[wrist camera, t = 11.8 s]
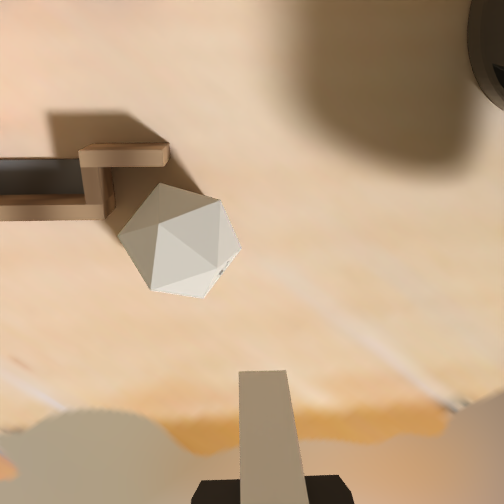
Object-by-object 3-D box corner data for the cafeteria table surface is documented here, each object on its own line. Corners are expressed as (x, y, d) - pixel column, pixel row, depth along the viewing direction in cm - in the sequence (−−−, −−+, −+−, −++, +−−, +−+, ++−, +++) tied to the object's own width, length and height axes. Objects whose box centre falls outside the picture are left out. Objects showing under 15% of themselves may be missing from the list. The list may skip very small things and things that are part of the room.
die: (156, 280, 40) (216, 335, 33) (82, 233, 34) (138, 291, 27) (211, 209, 41) (280, 250, 34) (148, 151, 34) (218, 187, 28)
